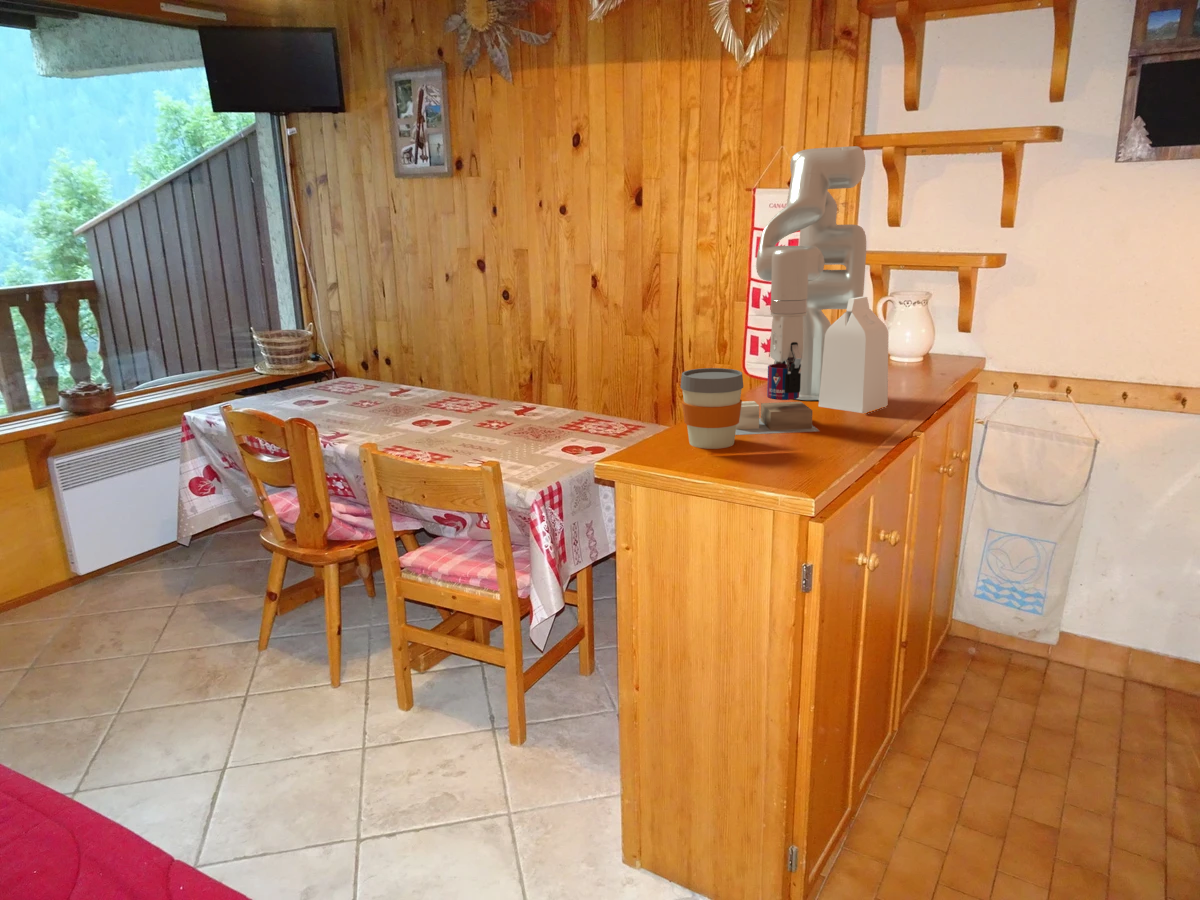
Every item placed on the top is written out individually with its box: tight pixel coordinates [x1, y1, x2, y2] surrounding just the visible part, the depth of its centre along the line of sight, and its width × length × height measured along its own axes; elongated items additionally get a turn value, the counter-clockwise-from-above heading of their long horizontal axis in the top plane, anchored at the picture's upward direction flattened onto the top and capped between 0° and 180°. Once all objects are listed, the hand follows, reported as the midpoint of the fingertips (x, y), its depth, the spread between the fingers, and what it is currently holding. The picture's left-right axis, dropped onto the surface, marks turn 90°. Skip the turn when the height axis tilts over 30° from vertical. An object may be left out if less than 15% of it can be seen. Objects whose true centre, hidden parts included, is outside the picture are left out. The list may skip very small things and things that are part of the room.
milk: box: [818, 296, 889, 414], centre depth 199 cm, size 12×12×26 cm
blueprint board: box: [735, 417, 820, 436], centre depth 186 cm, size 14×18×1 cm
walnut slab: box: [760, 401, 813, 430], centre depth 185 cm, size 9×9×4 cm
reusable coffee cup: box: [680, 367, 744, 450], centre depth 171 cm, size 13×13×15 cm
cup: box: [766, 363, 799, 401], centre depth 184 cm, size 7×10×7 cm
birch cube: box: [736, 400, 760, 429], centre depth 185 cm, size 5×5×5 cm
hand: (786, 388), depth 184 cm, fingers closed on cup, 8 cm apart
